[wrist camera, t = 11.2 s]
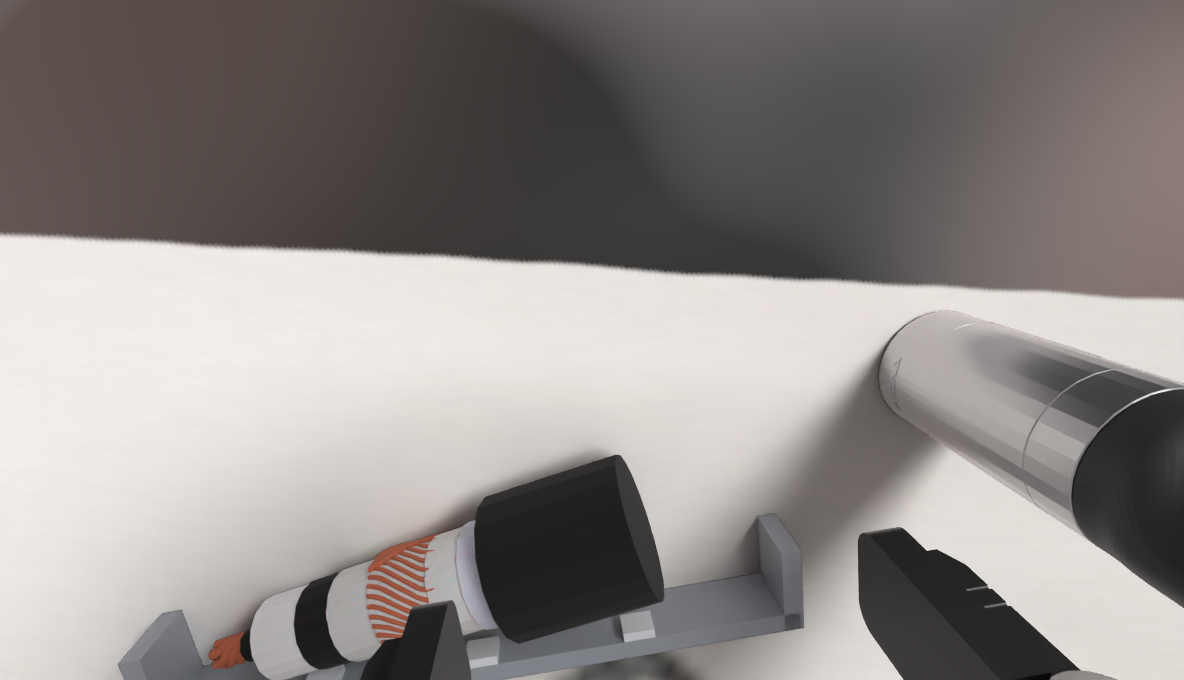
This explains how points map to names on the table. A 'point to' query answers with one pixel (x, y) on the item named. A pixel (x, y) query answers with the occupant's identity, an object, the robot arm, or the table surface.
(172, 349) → the table surface
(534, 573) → the cable
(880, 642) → the robot arm
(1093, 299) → the table surface
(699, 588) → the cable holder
